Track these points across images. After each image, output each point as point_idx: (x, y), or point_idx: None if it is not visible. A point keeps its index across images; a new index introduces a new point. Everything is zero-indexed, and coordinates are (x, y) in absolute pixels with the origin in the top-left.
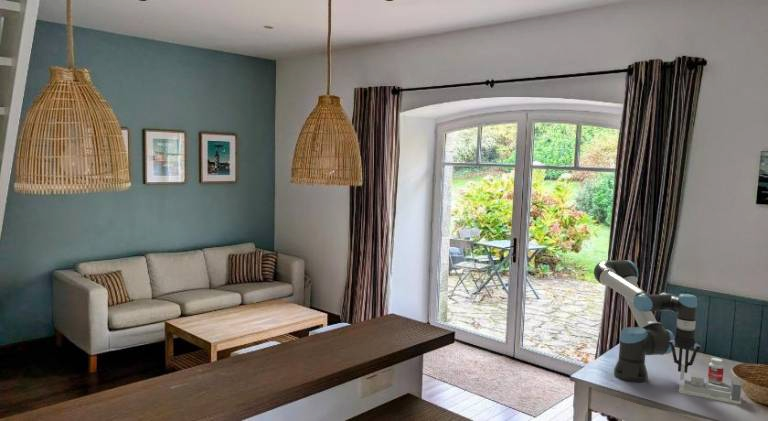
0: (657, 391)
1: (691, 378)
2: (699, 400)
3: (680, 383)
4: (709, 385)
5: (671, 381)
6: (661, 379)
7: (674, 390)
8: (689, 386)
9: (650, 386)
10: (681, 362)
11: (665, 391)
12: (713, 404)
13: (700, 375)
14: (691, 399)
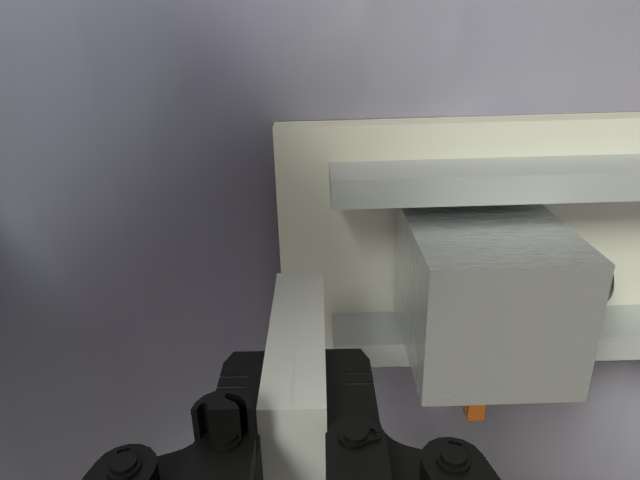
0: (114, 423)
1: (419, 386)
2: (459, 426)
3: (286, 148)
4: (628, 199)
5: (175, 27)
6: (52, 25)
7: (245, 315)
8: (386, 360)
9: (24, 340)
10: (255, 461)
11: (175, 386)
12: (562, 447)
13: (562, 287)
14: (395, 440)
